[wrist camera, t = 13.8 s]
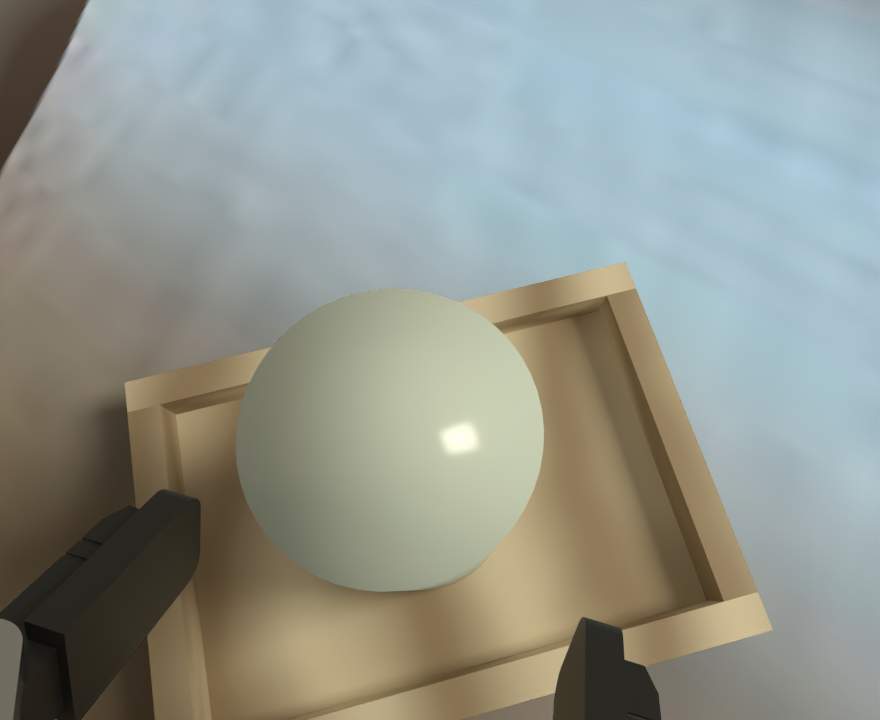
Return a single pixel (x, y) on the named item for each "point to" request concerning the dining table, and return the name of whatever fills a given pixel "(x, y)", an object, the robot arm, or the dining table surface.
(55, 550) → the dining table surface
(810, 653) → the dining table surface
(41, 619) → the robot arm
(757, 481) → the dining table surface
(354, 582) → the sage domed cylinder
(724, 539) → the tray
